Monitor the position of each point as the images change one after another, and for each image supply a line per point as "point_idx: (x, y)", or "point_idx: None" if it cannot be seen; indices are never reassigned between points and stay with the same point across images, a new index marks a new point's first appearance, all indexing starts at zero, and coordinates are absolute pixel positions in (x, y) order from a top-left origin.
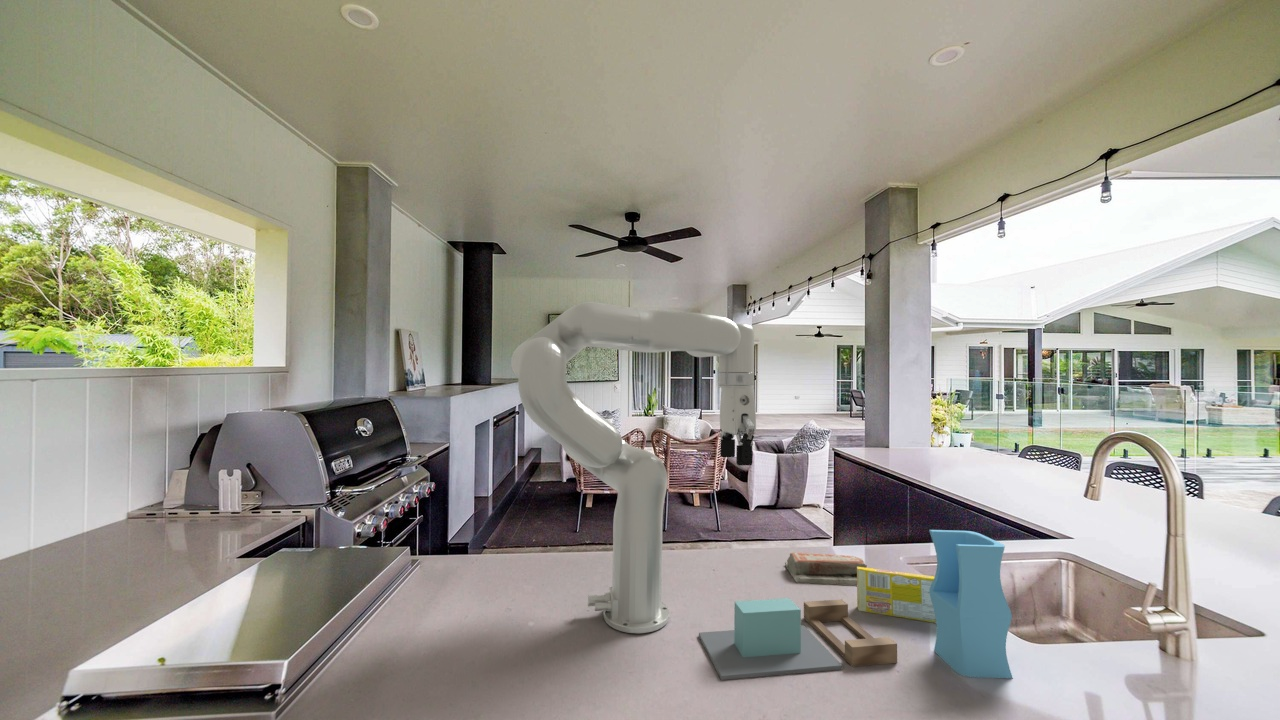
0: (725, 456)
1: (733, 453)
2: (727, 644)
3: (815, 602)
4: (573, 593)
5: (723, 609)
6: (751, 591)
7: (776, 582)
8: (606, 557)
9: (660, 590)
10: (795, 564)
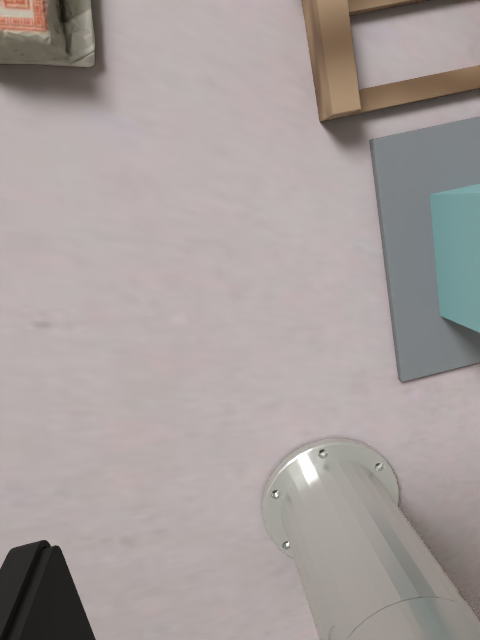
0: (91, 638)
1: (51, 586)
2: (443, 329)
3: (335, 78)
4: (237, 628)
5: (287, 319)
6: (181, 232)
7: (106, 138)
8: None
9: (370, 491)
10: (54, 44)
